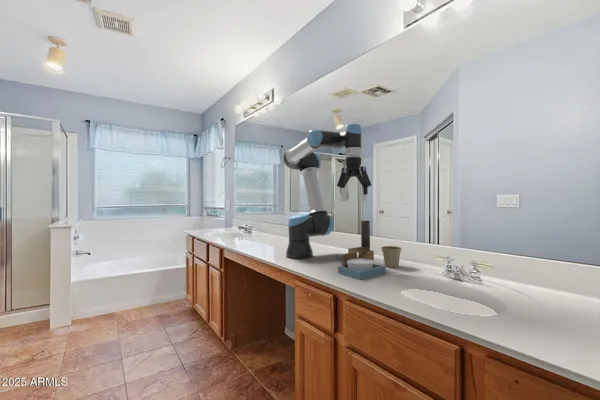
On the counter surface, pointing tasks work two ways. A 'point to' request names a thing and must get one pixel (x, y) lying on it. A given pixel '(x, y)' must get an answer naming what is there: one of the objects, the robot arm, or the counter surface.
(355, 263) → the ramekin
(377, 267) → the frame
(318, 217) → the robot arm
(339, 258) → the rail
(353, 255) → the pusher
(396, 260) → the flower pot
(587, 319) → the counter surface
